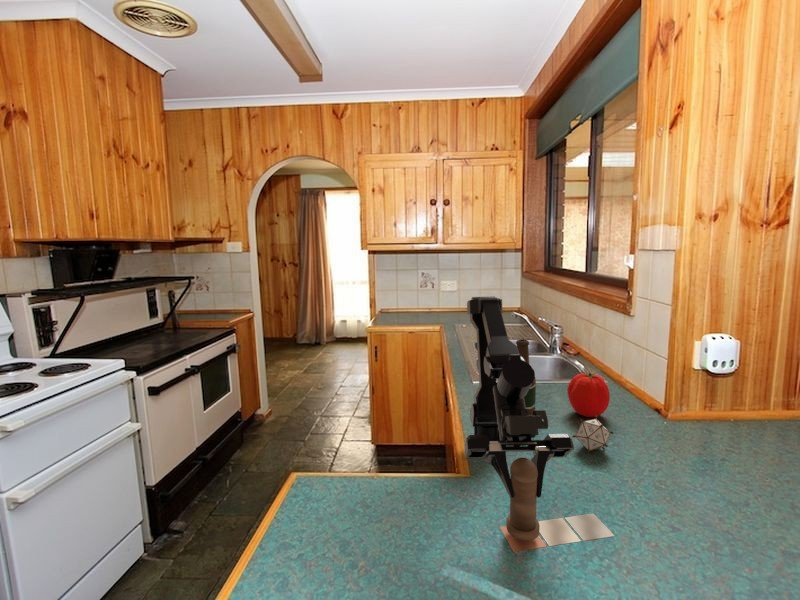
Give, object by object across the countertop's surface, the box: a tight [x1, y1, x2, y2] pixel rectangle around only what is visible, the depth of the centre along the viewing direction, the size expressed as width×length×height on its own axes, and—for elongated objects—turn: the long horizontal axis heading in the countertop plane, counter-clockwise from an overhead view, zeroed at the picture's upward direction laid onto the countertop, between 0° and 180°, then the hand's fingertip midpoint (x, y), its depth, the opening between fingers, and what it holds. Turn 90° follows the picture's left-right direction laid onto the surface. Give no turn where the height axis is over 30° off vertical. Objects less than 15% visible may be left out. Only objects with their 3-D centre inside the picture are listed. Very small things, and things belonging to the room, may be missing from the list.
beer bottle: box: [515, 338, 537, 416], centre depth 118 cm, size 8×8×24 cm
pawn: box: [505, 457, 540, 541], centre depth 70 cm, size 6×6×13 cm
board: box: [499, 513, 615, 553], centre depth 72 cm, size 21×10×1 cm, turn 99°
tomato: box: [566, 371, 611, 418], centre depth 120 cm, size 12×12×13 cm
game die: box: [571, 416, 615, 455], centre depth 101 cm, size 9×8×10 cm
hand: (525, 497), depth 69 cm, fingers closed on pawn, 4 cm apart
